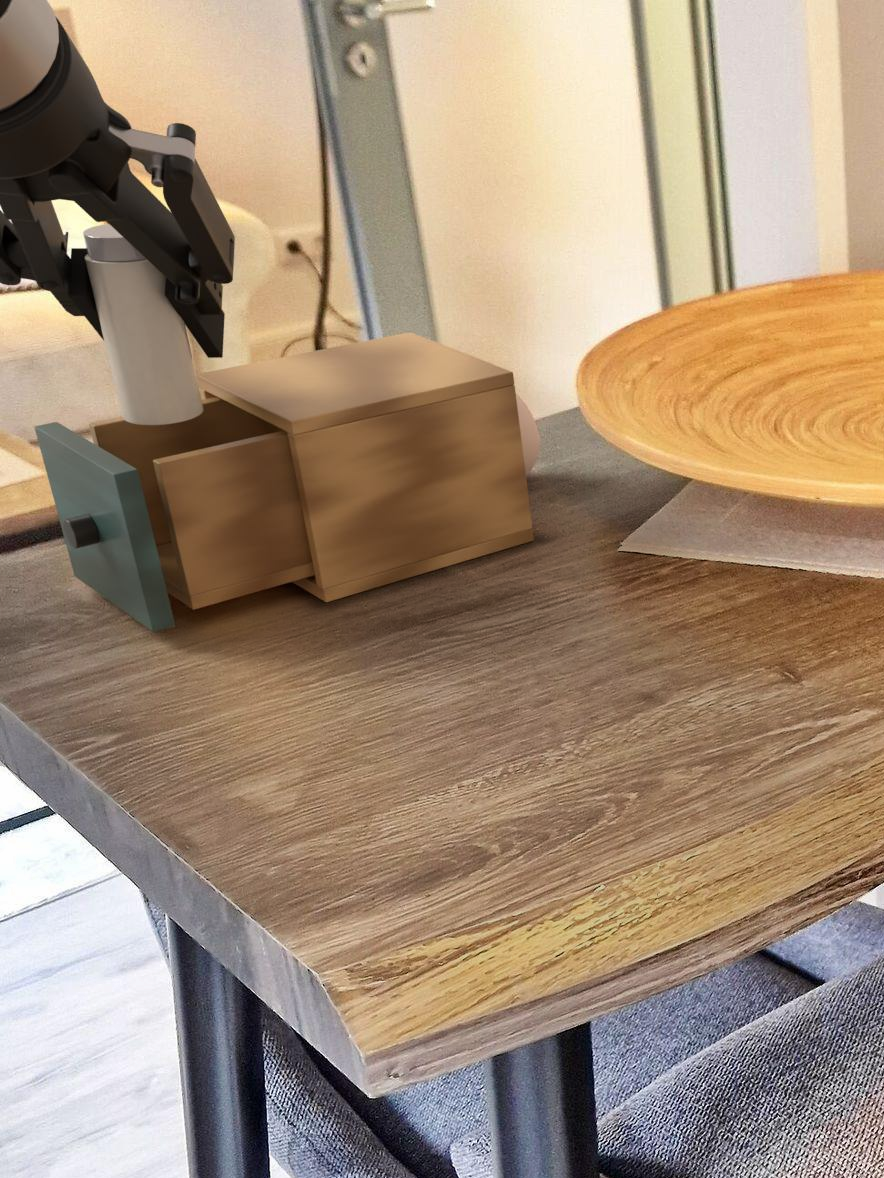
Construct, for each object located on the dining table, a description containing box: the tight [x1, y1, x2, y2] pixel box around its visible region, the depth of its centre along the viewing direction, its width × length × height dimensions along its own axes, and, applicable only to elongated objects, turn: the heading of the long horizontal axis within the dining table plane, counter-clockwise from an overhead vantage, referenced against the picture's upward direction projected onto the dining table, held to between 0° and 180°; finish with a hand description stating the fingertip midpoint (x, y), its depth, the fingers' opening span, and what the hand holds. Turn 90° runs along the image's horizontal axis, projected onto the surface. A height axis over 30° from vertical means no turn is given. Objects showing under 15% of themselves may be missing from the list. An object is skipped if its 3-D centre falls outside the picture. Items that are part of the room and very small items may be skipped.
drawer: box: [33, 397, 315, 633], centre depth 95 cm, size 14×10×9 cm
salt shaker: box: [82, 223, 204, 425], centre depth 89 cm, size 4×4×10 cm
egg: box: [516, 393, 540, 477], centre depth 112 cm, size 5×5×7 cm
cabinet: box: [196, 331, 535, 603], centre depth 101 cm, size 14×12×11 cm
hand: (171, 335), depth 93 cm, fingers closed on salt shaker, 4 cm apart
